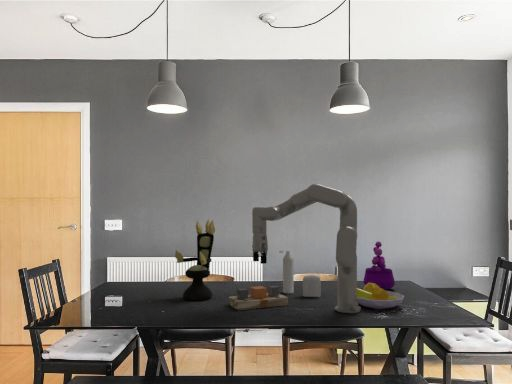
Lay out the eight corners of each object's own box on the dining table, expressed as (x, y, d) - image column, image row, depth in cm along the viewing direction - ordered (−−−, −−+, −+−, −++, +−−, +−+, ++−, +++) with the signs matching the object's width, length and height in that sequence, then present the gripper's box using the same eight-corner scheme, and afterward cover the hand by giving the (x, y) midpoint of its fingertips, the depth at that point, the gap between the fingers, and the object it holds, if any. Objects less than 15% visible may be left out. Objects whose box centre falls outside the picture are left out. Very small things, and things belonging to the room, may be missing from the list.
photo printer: (320, 295, 234) (320, 274, 234) (320, 297, 230) (320, 275, 230) (302, 295, 235) (302, 274, 235) (302, 297, 231) (302, 275, 231)
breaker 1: (248, 300, 209) (248, 289, 209) (240, 301, 207) (240, 290, 207) (244, 298, 213) (244, 288, 213) (237, 299, 211) (237, 289, 211)
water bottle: (294, 291, 246) (294, 250, 247) (292, 293, 239) (292, 251, 240) (280, 290, 248) (280, 250, 249) (278, 293, 242) (278, 251, 243)
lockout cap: (266, 297, 212) (266, 288, 212) (255, 299, 209) (255, 289, 209) (261, 295, 218) (261, 286, 218) (250, 296, 215) (250, 287, 215)
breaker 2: (279, 297, 216) (278, 287, 216) (271, 298, 214) (271, 287, 214) (275, 295, 220) (275, 285, 220) (268, 296, 218) (268, 286, 218)
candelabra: (173, 299, 226) (174, 219, 228) (197, 292, 246) (197, 218, 247) (201, 303, 217) (201, 219, 219) (223, 295, 237) (223, 218, 238)
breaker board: (288, 305, 212) (288, 296, 212) (238, 310, 201) (238, 301, 201) (276, 299, 225) (276, 290, 226) (229, 304, 214) (229, 295, 214)
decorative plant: (399, 292, 242) (398, 242, 243) (368, 292, 243) (367, 242, 244) (389, 286, 261) (388, 240, 262) (360, 286, 261) (360, 240, 263)
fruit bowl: (407, 303, 215) (407, 282, 216) (397, 315, 192) (397, 291, 192) (356, 297, 229) (356, 277, 230) (340, 308, 206) (340, 285, 206)
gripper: (272, 230, 209) (273, 263, 208) (259, 229, 225) (259, 260, 224) (259, 231, 206) (260, 264, 205) (246, 229, 222) (247, 260, 221)
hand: (259, 262), depth 215 cm, fingers open, 9 cm apart
